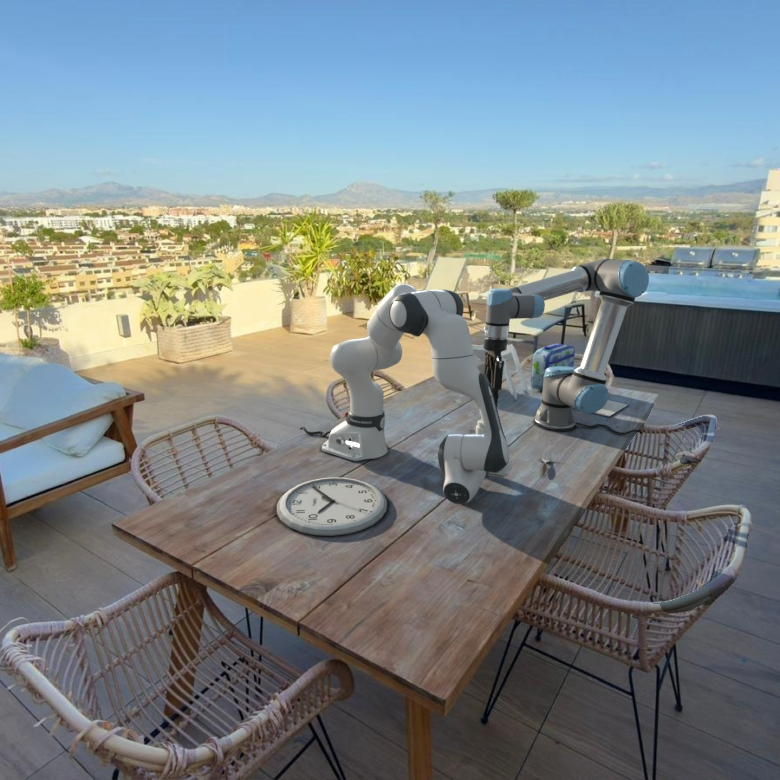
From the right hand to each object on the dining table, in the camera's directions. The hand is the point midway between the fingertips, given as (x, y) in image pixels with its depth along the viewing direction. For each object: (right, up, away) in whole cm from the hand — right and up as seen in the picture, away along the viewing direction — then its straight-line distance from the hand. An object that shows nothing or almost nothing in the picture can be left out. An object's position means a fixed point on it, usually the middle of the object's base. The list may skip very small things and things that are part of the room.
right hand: (490, 405), depth 176 cm
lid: (0, +4, -1) cm, 4 cm away
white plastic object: (+8, +4, +67) cm, 68 cm away
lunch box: (+44, +6, +76) cm, 88 cm away
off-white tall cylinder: (-5, -21, -12) cm, 24 cm away
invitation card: (+58, -2, +51) cm, 77 cm away
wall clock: (-49, -26, -33) cm, 65 cm away
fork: (+16, -20, -7) cm, 26 cm away
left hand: (-5, -14, -13) cm, 20 cm away
